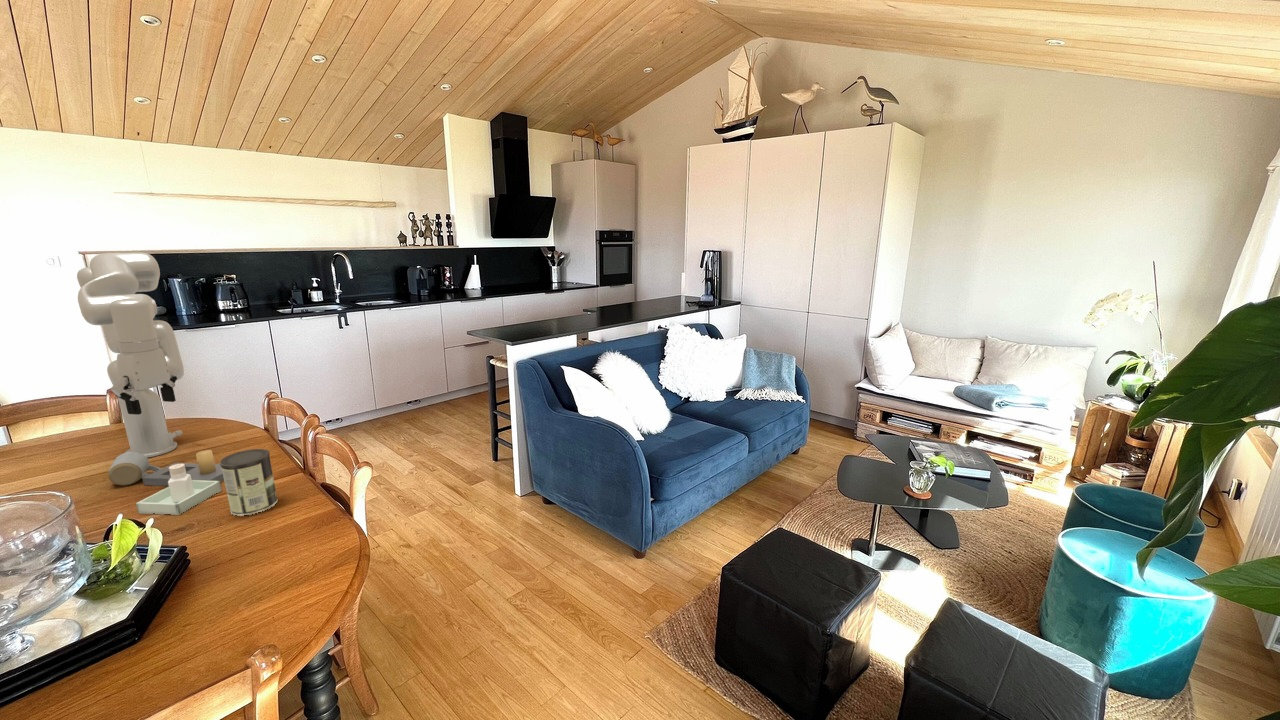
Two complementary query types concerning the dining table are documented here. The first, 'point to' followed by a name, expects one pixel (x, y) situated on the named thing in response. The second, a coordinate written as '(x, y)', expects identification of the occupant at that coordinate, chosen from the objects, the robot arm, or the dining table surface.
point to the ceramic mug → (130, 468)
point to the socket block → (190, 471)
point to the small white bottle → (180, 483)
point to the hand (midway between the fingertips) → (152, 407)
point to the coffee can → (249, 481)
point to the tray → (165, 505)
